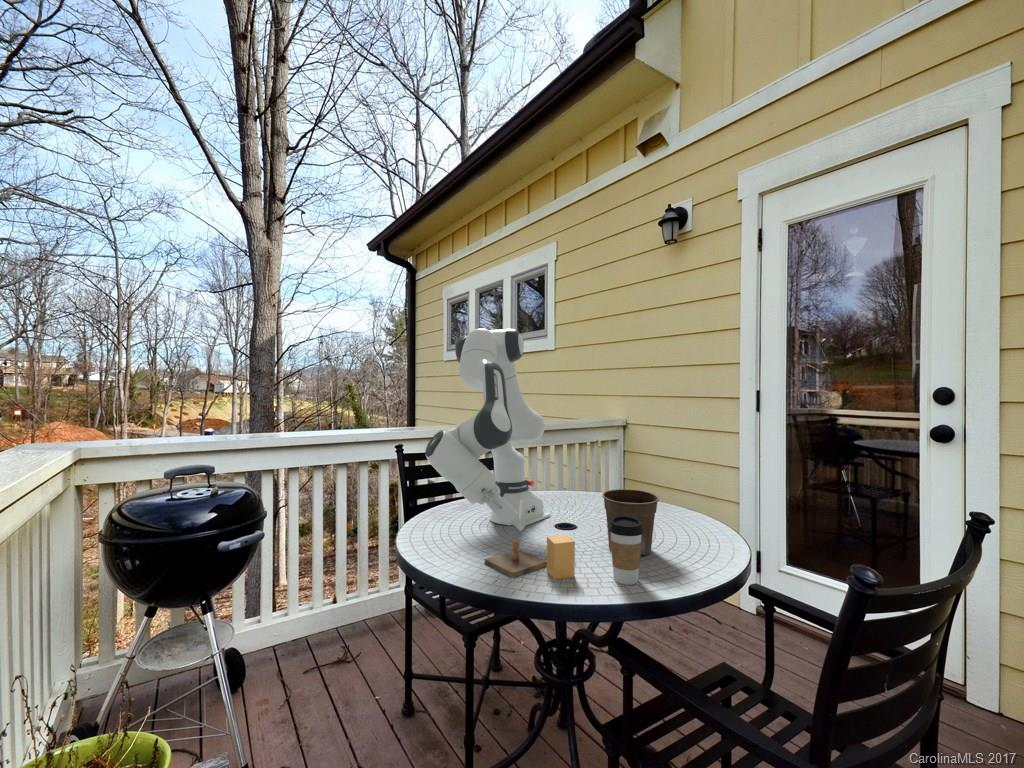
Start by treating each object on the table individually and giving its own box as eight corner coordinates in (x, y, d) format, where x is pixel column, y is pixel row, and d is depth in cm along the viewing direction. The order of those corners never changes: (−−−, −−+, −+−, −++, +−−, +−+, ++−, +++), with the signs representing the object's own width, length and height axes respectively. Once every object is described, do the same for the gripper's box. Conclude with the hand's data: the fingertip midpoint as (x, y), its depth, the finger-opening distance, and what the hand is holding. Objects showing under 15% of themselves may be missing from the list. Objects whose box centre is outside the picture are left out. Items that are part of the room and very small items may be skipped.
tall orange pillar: (546, 570, 125) (546, 536, 125) (566, 568, 127) (566, 534, 127) (554, 579, 120) (554, 543, 120) (574, 576, 122) (574, 541, 122)
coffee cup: (637, 572, 124) (637, 515, 124) (647, 587, 116) (648, 525, 116) (605, 573, 124) (605, 515, 124) (613, 587, 116) (613, 525, 115)
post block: (518, 553, 138) (518, 531, 138) (547, 565, 129) (547, 542, 129) (484, 563, 130) (484, 540, 130) (512, 577, 121) (512, 553, 121)
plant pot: (661, 562, 131) (662, 504, 131) (601, 558, 134) (601, 501, 134) (656, 542, 147) (656, 490, 147) (602, 539, 150) (602, 488, 150)
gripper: (497, 485, 108) (538, 524, 111) (479, 468, 128) (514, 502, 130) (478, 506, 107) (520, 545, 110) (462, 486, 127) (498, 520, 129)
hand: (517, 522), depth 120 cm, fingers open, 8 cm apart
